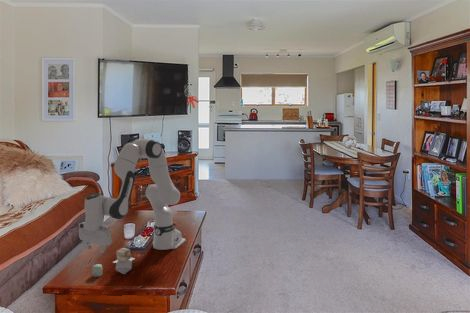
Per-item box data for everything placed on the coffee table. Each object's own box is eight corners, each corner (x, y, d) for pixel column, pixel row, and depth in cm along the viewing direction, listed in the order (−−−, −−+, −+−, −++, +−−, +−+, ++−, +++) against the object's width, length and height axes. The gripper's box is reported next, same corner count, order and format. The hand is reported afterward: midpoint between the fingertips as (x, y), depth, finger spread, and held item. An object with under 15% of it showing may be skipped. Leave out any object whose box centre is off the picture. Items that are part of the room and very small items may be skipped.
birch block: (123, 256, 209) (123, 247, 209) (130, 258, 207) (130, 249, 206) (116, 259, 205) (116, 251, 204) (124, 261, 203) (123, 252, 202)
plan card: (125, 256, 228) (125, 255, 228) (135, 259, 225) (135, 258, 225) (112, 262, 220) (112, 261, 220) (122, 265, 216) (122, 264, 216)
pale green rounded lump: (95, 272, 207) (95, 263, 207) (104, 273, 206) (103, 264, 206) (91, 276, 202) (90, 267, 202) (99, 277, 202) (99, 267, 201)
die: (135, 274, 207) (135, 256, 211) (124, 272, 200) (124, 253, 204) (123, 277, 210) (123, 259, 214) (112, 275, 202) (112, 257, 207)
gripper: (113, 226, 198) (114, 252, 200) (86, 220, 208) (87, 245, 210) (104, 230, 192) (105, 256, 194) (76, 223, 202) (77, 249, 204)
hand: (95, 250), depth 202 cm, fingers open, 8 cm apart
